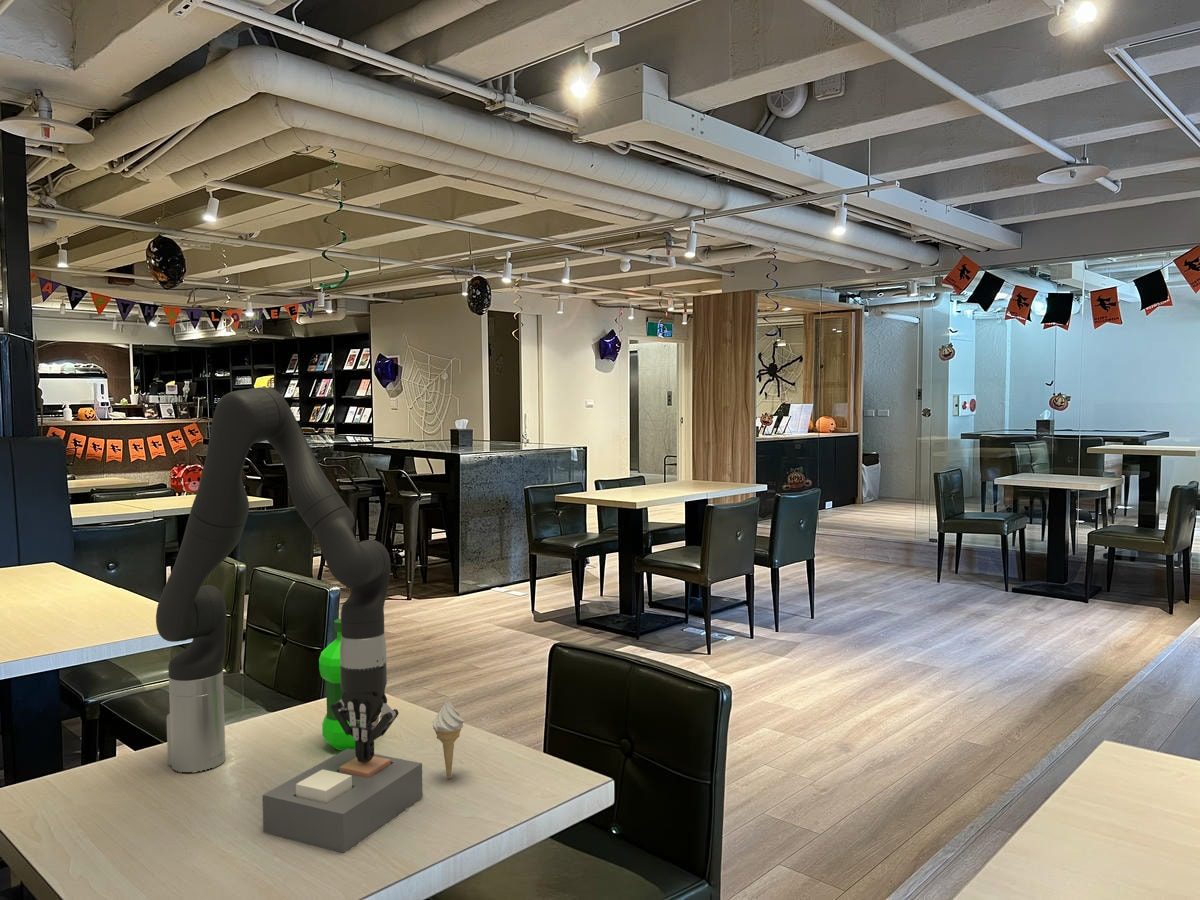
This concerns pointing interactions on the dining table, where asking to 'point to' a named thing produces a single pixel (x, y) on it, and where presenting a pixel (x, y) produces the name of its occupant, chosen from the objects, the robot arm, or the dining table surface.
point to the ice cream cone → (448, 731)
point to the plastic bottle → (333, 693)
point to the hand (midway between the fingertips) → (365, 760)
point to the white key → (324, 786)
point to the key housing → (343, 804)
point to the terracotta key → (365, 767)
